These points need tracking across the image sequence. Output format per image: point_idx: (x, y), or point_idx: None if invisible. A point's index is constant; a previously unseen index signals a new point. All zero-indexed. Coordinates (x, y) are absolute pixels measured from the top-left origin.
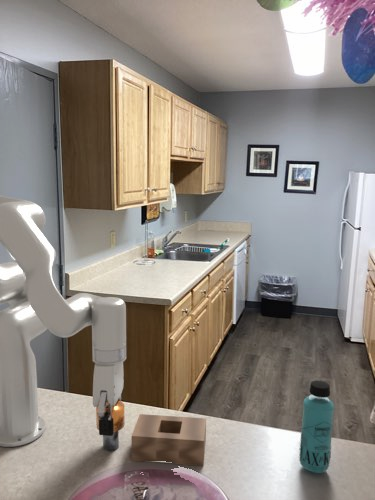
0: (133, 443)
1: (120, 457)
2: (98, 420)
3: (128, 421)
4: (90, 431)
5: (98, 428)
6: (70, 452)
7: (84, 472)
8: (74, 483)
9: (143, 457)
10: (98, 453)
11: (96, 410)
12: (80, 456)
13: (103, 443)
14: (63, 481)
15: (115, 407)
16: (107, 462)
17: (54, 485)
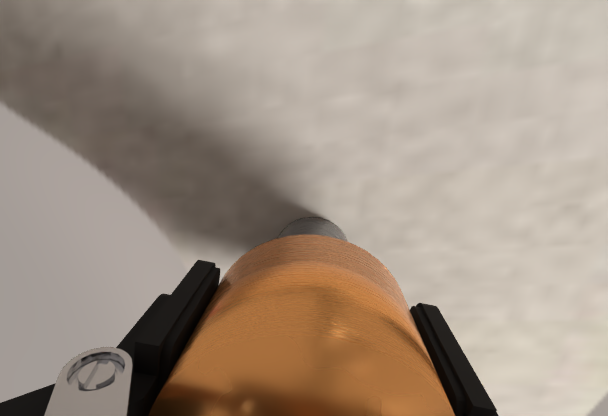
0: None
1: None
2: (224, 296)
3: (515, 321)
4: (466, 138)
5: (246, 257)
6: (276, 49)
7: (122, 150)
8: (44, 114)
9: None
10: (261, 200)
11: (246, 332)
12: (240, 113)
13: (292, 231)
14: (49, 56)
15: None
16: (195, 243)
17: (14, 13)
